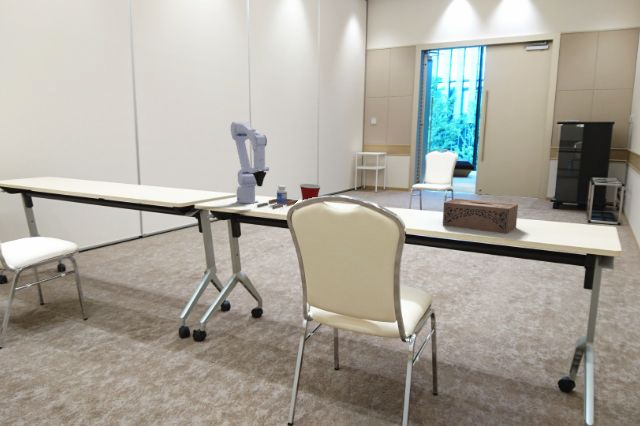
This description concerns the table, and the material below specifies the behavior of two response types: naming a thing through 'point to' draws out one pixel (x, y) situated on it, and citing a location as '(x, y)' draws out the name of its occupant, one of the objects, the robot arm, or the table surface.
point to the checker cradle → (267, 204)
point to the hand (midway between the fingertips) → (259, 186)
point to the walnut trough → (289, 201)
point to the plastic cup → (309, 190)
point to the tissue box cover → (480, 215)
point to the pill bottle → (282, 195)
